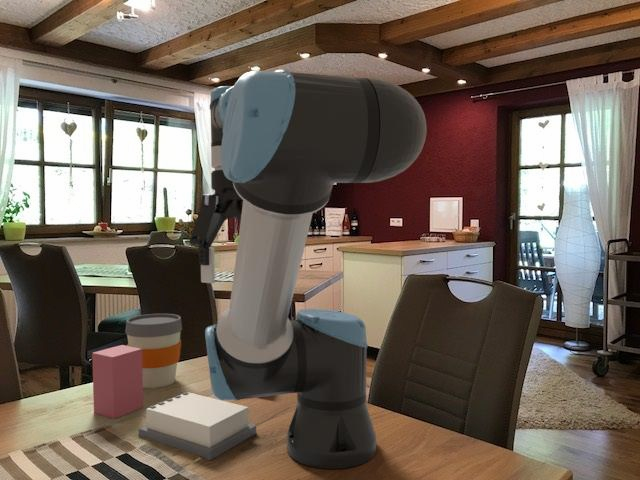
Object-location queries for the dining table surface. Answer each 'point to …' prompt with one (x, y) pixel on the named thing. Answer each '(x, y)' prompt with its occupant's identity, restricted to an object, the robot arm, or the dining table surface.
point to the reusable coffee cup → (156, 346)
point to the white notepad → (198, 424)
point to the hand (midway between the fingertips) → (231, 278)
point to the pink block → (117, 381)
